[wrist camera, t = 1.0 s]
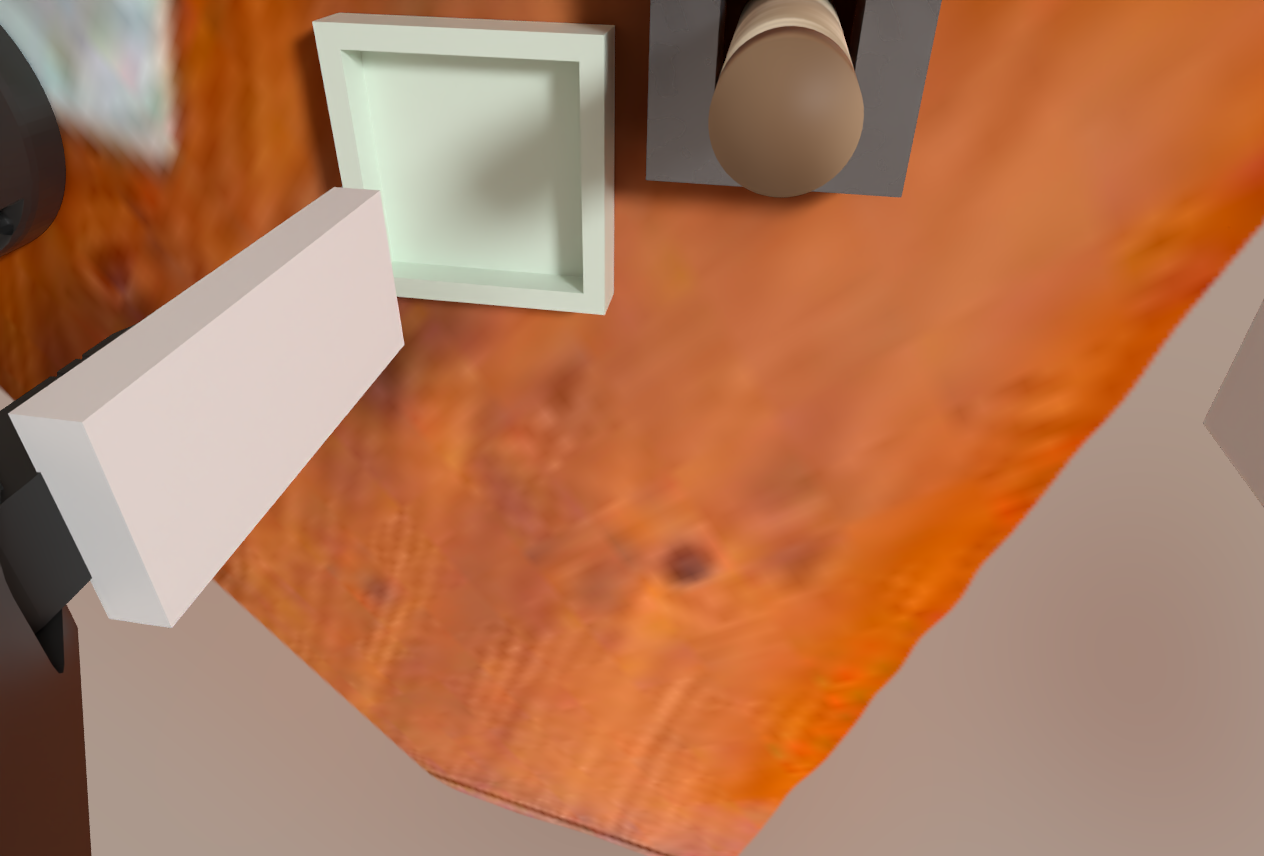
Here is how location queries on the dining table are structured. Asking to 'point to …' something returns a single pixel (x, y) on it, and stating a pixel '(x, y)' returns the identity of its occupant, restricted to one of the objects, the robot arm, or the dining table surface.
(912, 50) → the socket block
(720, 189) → the dining table surface
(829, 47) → the pin
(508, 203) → the tray
